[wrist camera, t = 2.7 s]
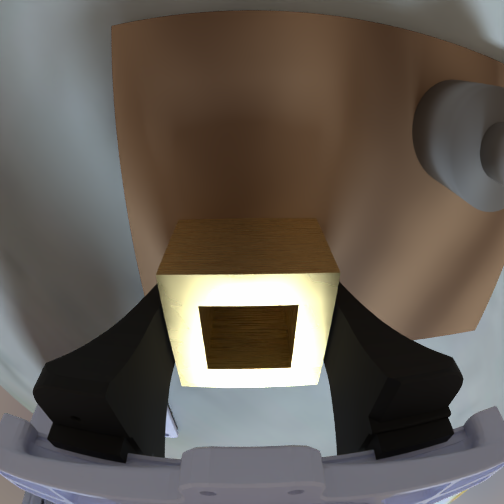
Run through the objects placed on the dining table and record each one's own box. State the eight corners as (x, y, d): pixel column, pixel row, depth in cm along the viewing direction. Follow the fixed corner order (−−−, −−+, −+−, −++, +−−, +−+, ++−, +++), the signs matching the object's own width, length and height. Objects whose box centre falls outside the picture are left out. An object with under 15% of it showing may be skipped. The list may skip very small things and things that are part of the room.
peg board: (162, 337, 18) (141, 426, 13) (120, 29, 10) (37, 6, 4) (468, 320, 18) (508, 384, 13) (529, 80, 10) (612, 104, 5)
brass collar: (192, 322, 16) (181, 386, 12) (178, 219, 13) (155, 274, 10) (304, 320, 16) (317, 384, 12) (316, 218, 13) (340, 272, 10)
